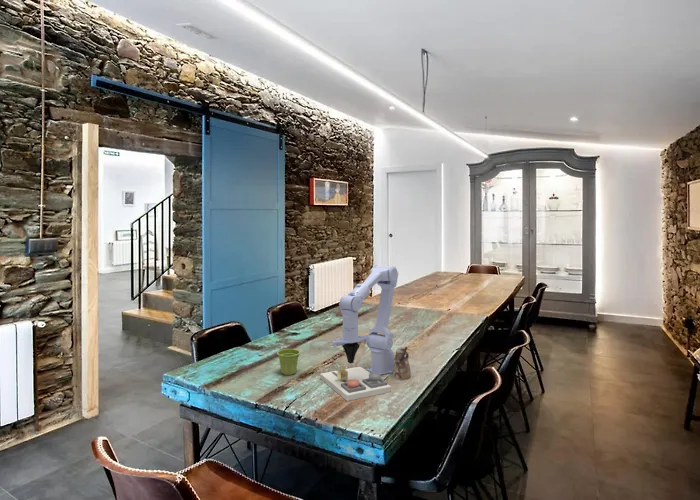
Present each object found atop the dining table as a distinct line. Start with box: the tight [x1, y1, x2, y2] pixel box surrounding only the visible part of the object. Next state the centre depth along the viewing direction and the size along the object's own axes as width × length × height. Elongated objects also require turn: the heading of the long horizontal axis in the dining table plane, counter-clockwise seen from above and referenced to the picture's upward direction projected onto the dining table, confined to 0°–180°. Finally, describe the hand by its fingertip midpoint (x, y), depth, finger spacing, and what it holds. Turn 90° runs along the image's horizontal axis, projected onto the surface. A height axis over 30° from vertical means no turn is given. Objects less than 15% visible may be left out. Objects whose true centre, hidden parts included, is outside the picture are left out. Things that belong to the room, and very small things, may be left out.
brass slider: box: [336, 364, 348, 381], centre depth 165 cm, size 3×3×5 cm
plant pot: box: [276, 348, 301, 376], centre depth 179 cm, size 9×9×9 cm
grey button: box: [369, 372, 382, 382], centre depth 162 cm, size 4×4×2 cm
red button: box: [347, 379, 359, 389], centre depth 158 cm, size 4×4×2 cm
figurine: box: [392, 346, 411, 381], centre depth 174 cm, size 7×7×12 cm
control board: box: [319, 366, 392, 402], centre depth 166 cm, size 18×24×3 cm
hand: (350, 362), depth 164 cm, fingers closed
